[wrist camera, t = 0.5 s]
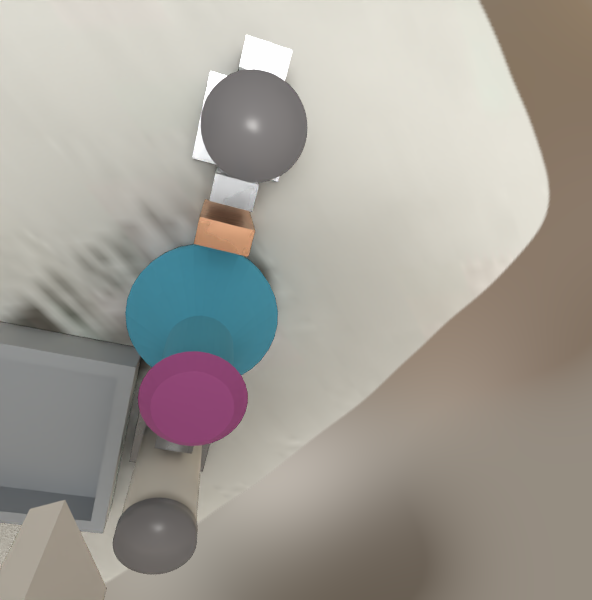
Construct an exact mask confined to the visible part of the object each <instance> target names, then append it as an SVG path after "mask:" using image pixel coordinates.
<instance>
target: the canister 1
mask: <svg viewBox="0 0 592 600" xmlns="http://www.w3.org/2000/svg"><path fill="white" fill-rule="evenodd" d="M156 438H157V434H155V433H154V432H153V431H152V430H151V429H150V428H149V427H148V426H147V427H146V428H145V431H144V434H143V437H142V441H141V445H140V449H139V452H138V456H137V460H136V463H135V467H134V471H133V474H132V478H131V482H130V486H129V489H128V493H127V497H126V500H125V504H124V508H123V511H122V515H121V516H120V518H119V520H118V523H117V527H116V530H115V534H114V538H113V550H114V553H115V555H116V557H117V558H118V560H119V561H120V562H121V563H122V564H123V565H124V566H126V567H127V568H129V569H131V570H133V571H136V572H139V573H143V574H162V573H167V572H170V571H173V570H175V569H177V568H179V567H181V566H182V565H184V564H185V563H186V562H187V561H188V560H189V559H190V558H191V556H192V555H193V553H194V551H195V548H196V543H197V530H198V529H197V527H198V525H197V507H198V494H199V480H200V467H201V454H202V445H199V446H194V447H193V451H192V454H190V453H183V452H176V451H170V450H163V449H156V448H154V447H155V443H156Z"/></svg>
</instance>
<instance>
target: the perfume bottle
mask: <svg viewBox="0 0 592 600" xmlns="http://www.w3.org/2000/svg"><path fill="white" fill-rule="evenodd" d="M277 316H278V310H277V305H276V300H275V296H274V294H273V291H272V289H271V287H270V284H269V283H268V281H267V280H266V279H265V277H264V276H263V274H262V273H261V271H260V270H259V269H258V268H257V267H256V266H255V265H254V264H253V263H252V262H251V261H250V260H249V259H247V258H245V257H244V256H242V255H238V254H234V253H230V252H226V251H221V250H217V249H213V248H209V247H205V246H200V245H196V244H192V245H187V246H181V247H178V248H176V249H173V250H171V251H168V252H166V253H164V254H163V255H161V256H160V257H158V258H157V259H155V260H154V261H153V262H151V263H150V264H149V265H148V266H147V267H146V268H145V269H144V270H143V271H142V272H141V273H140V275H139V276H138V278H137V279H136V281H135V283H134V284H133V286H132V288H131V291H130V294H129V296H128V299H127V306H126V324H127V330H128V333H129V336H130V339H131V342H132V343H133V345H134V347H135V349H136V351H137V352H138V354H139V355H140V356H141V357H142V358H143V360H144V361H145V362H146V363H147V364H148V365H149V366H151V367H152V368H151V369H150V370H149V371H148V373H147V374H146V376H145V377H144V378H143V380H142V383H141V385H140V388H139V394H138V405H139V410H140V413H141V416H142V418H143V420H144V421H145V423H146V425H147V426H148V427H149V428H150V429H151V430H152V431H153V432H154V433H155V434H157V435H158V436H160V437H161V438H163V439H165V440H167V441H169V442H172V443H175V444H179V445H186V446H199V445H205V444H209V443H213V442H215V441H218V440H220V439H222V438H223V437H225V436H227V435H228V434H229V433H231V432H232V431H233V430H234V429H235V428H236V427H237V425H238V424H239V423H240V421H241V420H242V418H243V416H244V414H245V412H246V407H247V403H248V393H247V389H246V384H245V382H244V380H243V378H242V376H241V375H243V374H244V373H246V372H247V371H249V370H250V369H252V368H253V367H254V366H255V365H256V364H257V363H258V362H259V361H260V360H261V359H262V358H263V356H264V355H265V354H266V352H267V351H268V350H269V347H270V345H271V343H272V341H273V339H274V336H275V332H276V328H277Z"/></svg>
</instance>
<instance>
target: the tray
mask: <svg viewBox="0 0 592 600" xmlns="http://www.w3.org/2000/svg"><path fill="white" fill-rule="evenodd" d="M140 361H141V356H140V355H139V354H138V352H137V351H136V349H135V347H132V346H127V345H122V344H116V343H111V342H106V341H100V340H95V339H90V338H84V337H79V336H74V335H68V334H63V333H58V332H52V331H47V330H42V329H36V328H31V327H26V326H20V325H15V324H10V323H4V322H0V523H9V524H18V525H22V524H23V522H24V520H25V518H26V516H27V514H28V512H29V509H31V508H35V507H39V506H43V505H47V504H51V503H54V502H58V501H62V500H65V501H66V503H67V505H68V507H69V509H70V511H71V513H72V515H73V518H74V520H75V522H76V524H77V526H78V528H79V530H80V531H84V532H94V533H103V531H104V528H105V525H106V522H107V518H108V515H109V512H110V508H111V505H112V500H113V496H114V491H115V486H116V481H117V476H118V471H119V466H120V461H121V456H122V451H123V446H124V441H125V436H126V431H127V426H128V421H129V416H130V411H131V406H132V401H133V396H134V391H135V386H136V381H137V376H138V371H139V366H140Z"/></svg>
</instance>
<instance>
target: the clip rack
mask: <svg viewBox="0 0 592 600" xmlns="http://www.w3.org/2000/svg"><path fill="white" fill-rule="evenodd" d="M292 51H293V50H291V49H288V48H285V47H282V46H279V45H276V44H273V43H270V42H267V41H264V40H261V39H258V38H255V37H252V36H249V35H246V38H245V43H244V47H243V52H242V56H241V61H240V65H239V70H238V71H241V70H246V69H257V70H263V71H267V72H270V73H273V74H275V75H277V76H279V77H280V78H282V79H283V80H284V81H285V79H286V75H287V71H288V67H289V63H290V59H291V55H292ZM225 77H226V75H223V74H219V73H216V72H213V71H210V74H209V79H208V84H207V89H206V93H205V98H204V103H205V100H206V98H207V96H208V95H209V93H210V91H211V90H212V89H213V88H214V86H215V85H216V84H217V83H218V82H219V81H221V80H222V79H223V78H225ZM204 103H203V105H204ZM202 109H203V108H202ZM200 123H201V118H200V122H199V127H198V132H197V137H196V142H195V147H194V151H193V156H192V158H194V159H197V160H201V161H205V162H208V163H212V164H215V163H214V162H213V160H212V159H211V157H210V156H209V154H208V152H207V150H206V148H205V146H204V143H203V140H202V135H201V128H200ZM272 180H274V181H277V182H278V180H279V177H277V178H275V179H272ZM258 187H259V184H258V183H257V182H246V181H242V180H239V179H236V178H234V177H232V176H230V175H228V174H227V173H225V172H224V171H222V170H221V169H220V168H219V167H218V166H217V169H216V173H215V177H214V182H213V186H212V191H211V195H210V200H206V199H205V201H204V204H203V208H202V211H201V214H200V218H199V223H198V227H197V232H196V236H195V241H194V244H196V245H200V246H205V247H209V248H213V249H217V250H221V251H226V252H230V253H234V254H238V255H242V256H247V257H248V256H249V252H250V249H251V245H252V241H253V237H254V233H255V229H254V225H253V222H252V219H251V215H250V212H249V211H251V212H252V211H253V207H254V203H255V199H256V195H257V191H258ZM146 427H147V425H146V423H145V421H144V420H143V418H142V416H141V413H140V412H139V417H138V422H137V427H136V432H135V436H134V441H133V446H132V451H131V456H130V460H129V462H136V460H137V456H138V452H139V449H140V445H141V441H142V437H143V434H144V431H145V428H146ZM209 445H210V443H209V444H205V445H202V454H201V467H200V471H202V472H203V468H204V464H205V460H206V456H207V452H208V449H209ZM193 447H194V446H186V445H179V444H175V443H172V442H169V441H167V440H165V439H163V438H161V437H160V436H158V435H157V438H156V443H155V447H154V448H156V449H163V450H170V451H176V452H183V453H190V454H192V451H193Z"/></svg>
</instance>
